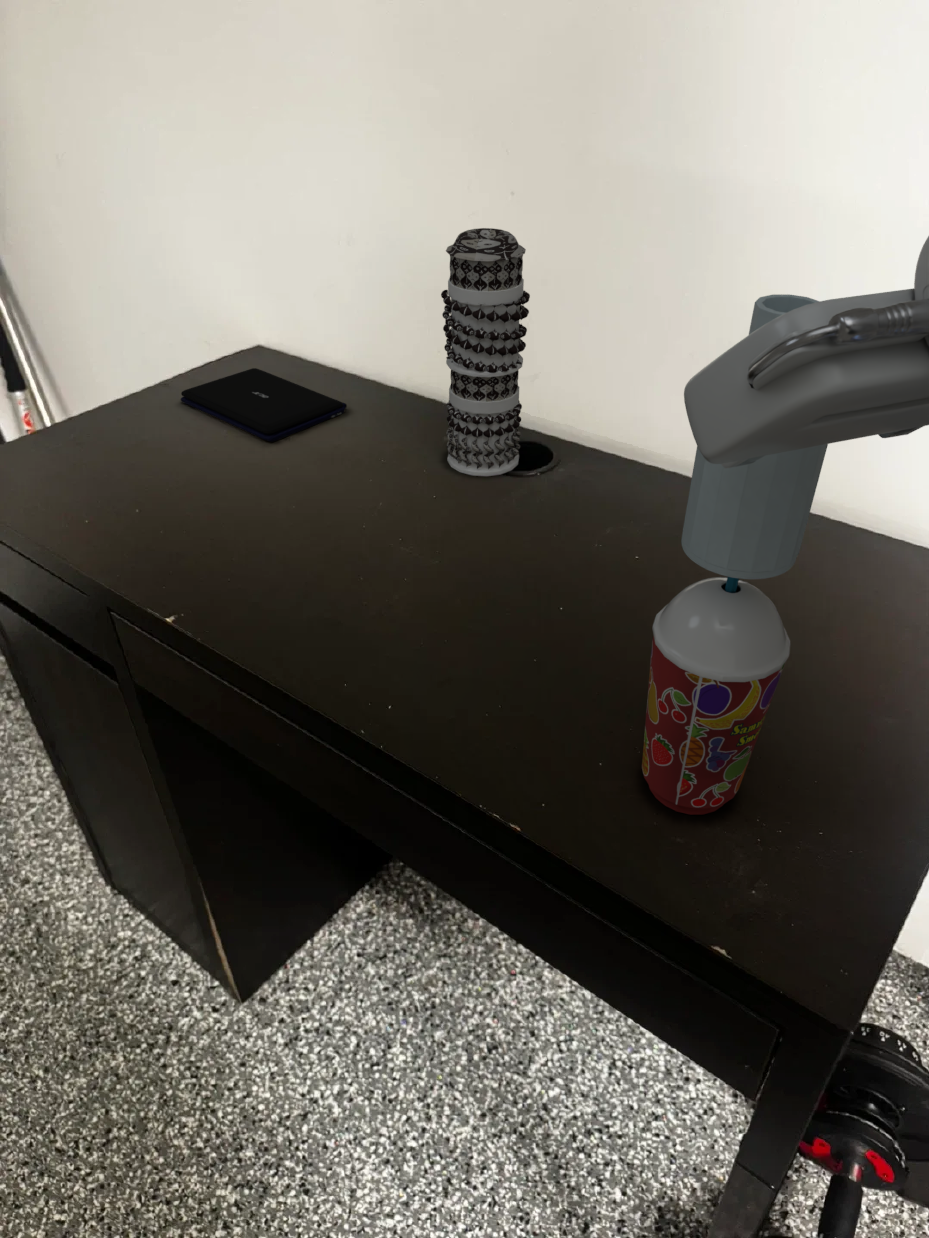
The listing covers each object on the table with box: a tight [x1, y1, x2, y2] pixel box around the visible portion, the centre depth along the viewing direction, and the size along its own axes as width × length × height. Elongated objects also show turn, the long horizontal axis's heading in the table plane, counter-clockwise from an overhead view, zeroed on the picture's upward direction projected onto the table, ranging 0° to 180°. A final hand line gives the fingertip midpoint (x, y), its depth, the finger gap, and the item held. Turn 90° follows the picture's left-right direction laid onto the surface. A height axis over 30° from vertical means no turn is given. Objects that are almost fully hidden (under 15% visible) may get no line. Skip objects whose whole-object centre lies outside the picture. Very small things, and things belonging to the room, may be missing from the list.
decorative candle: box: [440, 227, 531, 477], centre depth 97 cm, size 9×9×25 cm
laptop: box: [180, 367, 347, 443], centre depth 116 cm, size 16×20×2 cm
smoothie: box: [641, 576, 792, 816], centre depth 58 cm, size 8×8×20 cm
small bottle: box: [680, 294, 829, 580], centre depth 48 cm, size 6×6×14 cm
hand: (810, 437), depth 45 cm, fingers open, 8 cm apart
